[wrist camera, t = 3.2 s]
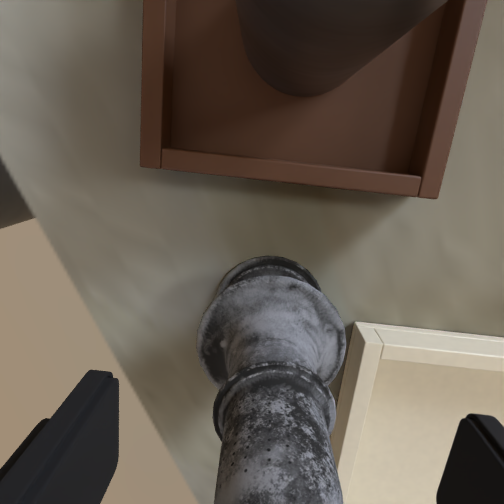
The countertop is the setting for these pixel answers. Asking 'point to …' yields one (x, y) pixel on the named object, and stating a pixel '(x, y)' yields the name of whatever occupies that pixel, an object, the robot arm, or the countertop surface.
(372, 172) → the dark tray
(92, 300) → the countertop surface
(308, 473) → the marbled chess pawn
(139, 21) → the countertop surface
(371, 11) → the dark gray cylinder
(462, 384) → the light tray
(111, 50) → the countertop surface
